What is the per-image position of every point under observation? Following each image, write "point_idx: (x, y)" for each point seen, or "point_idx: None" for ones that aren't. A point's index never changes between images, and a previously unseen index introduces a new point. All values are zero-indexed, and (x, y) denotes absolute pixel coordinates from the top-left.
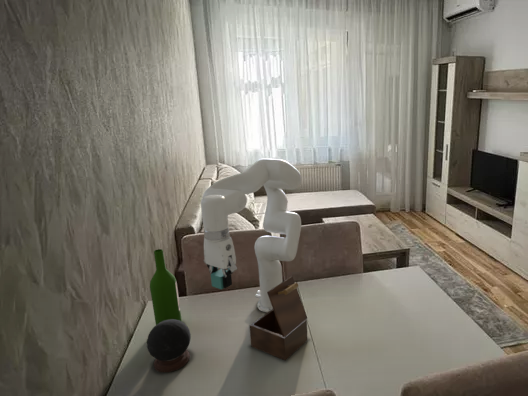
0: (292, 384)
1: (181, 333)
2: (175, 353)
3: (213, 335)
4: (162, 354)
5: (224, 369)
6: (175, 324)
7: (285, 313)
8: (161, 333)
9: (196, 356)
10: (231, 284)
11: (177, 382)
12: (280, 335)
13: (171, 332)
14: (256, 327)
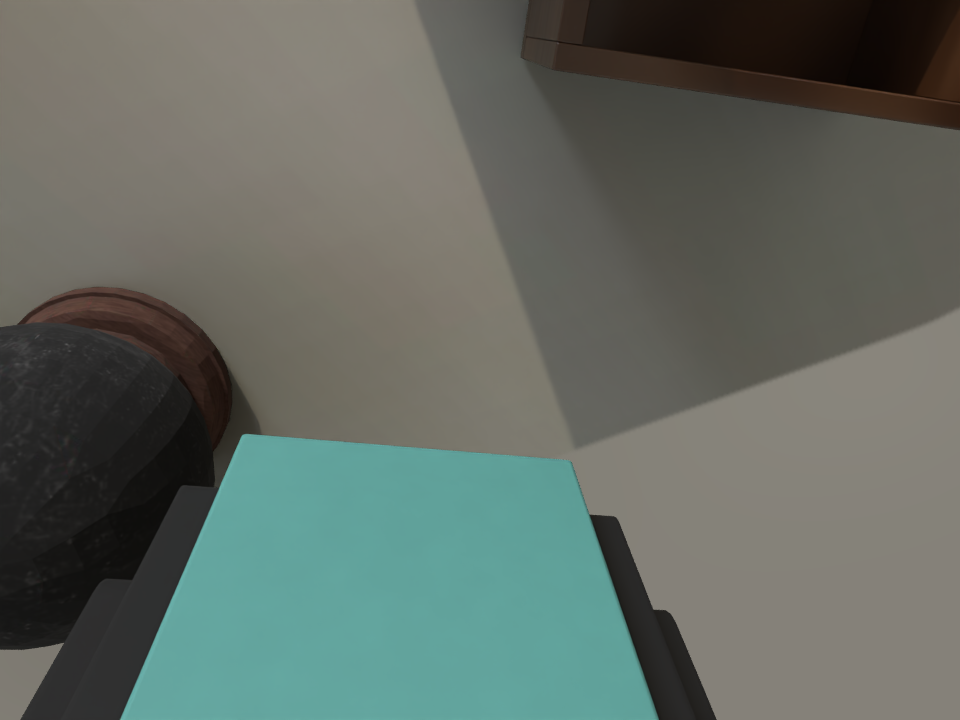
0: (955, 279)
1: (153, 521)
2: None
3: (120, 46)
4: None
5: (493, 327)
6: (41, 551)
7: None
8: (47, 638)
9: (225, 300)
10: (610, 524)
11: None
12: (926, 106)
13: None
14: (643, 77)
